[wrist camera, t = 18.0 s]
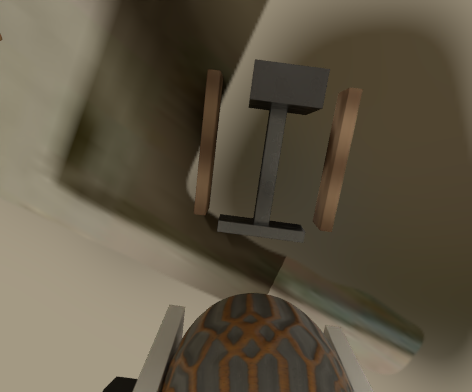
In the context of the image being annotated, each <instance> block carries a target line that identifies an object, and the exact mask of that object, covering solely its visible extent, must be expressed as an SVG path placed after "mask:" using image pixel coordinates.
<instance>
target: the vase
mask: <svg viewBox="0 0 472 392" xmlns="http://www.w3.org/2000/svg"><path fill="white" fill-rule="evenodd" d="M161 392H353V391H352V388H351V385H350V383H349V380H348V377H347V375H346V373H345V370H344V368H343V366H342V364H341V362H340V360H339V358H338V356H337V354H336V352H335V351H334V349H333V347H332V345H331V344H330V342H329V340H328V339H327V338H326V336H325V335H324V334H323V333H322V331H321V330H320V329H319V327H318V326H317V325H316V324H315V323H314V322H313V321H312V320H311V319H310V318H309V317H308V316H307V315H306V314H305V313H303V312H302V311H301V310H300V309H298V308H297V307H295V306H294V305H292V304H291V303H289V302H287V301H285V300H283V299H281V298H278V297H275V296H271V295H266V294H258V293H247V294H240V295H235V296H231V297H228V298H226V299H223V300H221V301H219V302H217V303H216V304H214V305H212V306H211V307H210V308H208V309H207V310H206V311H205V312H204V313H203V314H201V315H200V316H199V317H198V318H197V319H196V320H195V322H194V323H193V324H192V325H191V327H190V328H189V329H188V330H187V332H186V333H185V335H184V337H183V338H182V340H181V341H180V343H179V345H178V347H177V348H176V351H175V353H174V355H173V358H172V360H171V362H170V365H169V368H168V371H167V374H166V376H165V380H164V383H163V387H162V390H161Z"/></svg>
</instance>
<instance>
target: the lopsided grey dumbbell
mask: <svg viewBox="0 0 472 392" xmlns="http://www.w3.org/2000/svg"><path fill="white" fill-rule="evenodd" d="M329 71H330V69H324V68H316V67H309V66H300V65H294V64H293V65H292V64H286V63H278V62H271V61H263V60H255V64H254V72H253V79H252V87H251V94H250V101H249V108H256V109H264V110H270V111H269V118H268V124H267V131H266V139H265V145H264V151H263V158H262V165H261V172H260V178H259V185H258V191H257V198H256V205H255V212H254V218H245V217H238V216H230V215H222V214H220V217H219V220H218V228H217V231H218V232H226V233H234V234H241V235H249V236H257V237H264V238H272V239H279V240H287V241H294V242H302V243H303V241H304V235H305V231H304V229H303V228H302V226H301V225H298V224H290V223H283V222H276V221H269V219H270V214H271V207H272V201H273V195H274V189H275V183H276V177H277V171H278V164H279V158H280V152H281V145H282V139H283V134H284V127H285V121H286V115H287V113H295V114H302V115H307V114H309V113H312V112H315V111H317V110H319V109H322V108H323V103H324V98H325V92H326V87H327V82H328V76H329Z"/></svg>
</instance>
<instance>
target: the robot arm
mask: <svg viewBox="0 0 472 392" xmlns="http://www.w3.org/2000/svg"><path fill="white" fill-rule="evenodd" d="M184 312H185V307H182V306H174V305H169V307H168V310H167V312H166V314H165V317H164V319H163V321H162V324H161V326H160V328H159V331H158V333H157V336H156V338H155V340H154V343H153V345H152V347H151V350H150V352H149V354H148V357H147V359H146V361H145V364H144V366H143V369H142V371H141V373H140V376H139V378H138V379H132V378H124V377H116V378H115V379H114V380H113V381H112V382H111V383H110V384H109V385H108V386H107V387H106V388H105V389H104V390H103V392H161V390H162V387H163V383H164V380H165V376H166V374H167V371H168V368H169V365H170V362H171V360H172V358H173V355H174V353H175V351H176V348H177V347H178V345H179V343H180V341H181V340H182V332H183V322H184ZM323 334H324V335H325V336H326V338H327V339H328V340H329V342H330V344H331V345H332V347H333V349H334V351H335V352H336V354H337V356H338V358H339V360H340V362H341V364H342V366H343V368H344V370H345V373H346V375H347V377H348V380H349V383H350V385H351V388H352V391H353V392H373V389H372V388H371V385H370V383H369V381H368V380H367V378H366V376H365V374H364V372H363V370H362V368H361V366H360V364H359V362H358V360H357V358H356V356H355V354H354V352H353V350H352V348H351V346H350V344H349V342H348V340H347V338H346V336H345V334H344V332H343V330H342V329H341V327H335V326H328V325H325V329H324V333H323Z"/></svg>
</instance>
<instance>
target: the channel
mask: <svg viewBox="0 0 472 392" xmlns="http://www.w3.org/2000/svg"><path fill="white" fill-rule="evenodd" d="M222 85H223V76H222V73H221V71H219V70H211V69H208V73H207V83H206V93H205V104H204V114H203V124H202V135H201V145H200V155H199V166H198V176H197V186H196V197H195V207H194V214H199V215H206V213H207V211H208V209H209V204H210V195H211V185H212V176H213V167H214V158H215V149H216V140H217V131H218V122H219V113H220V104H221V95H222ZM362 91H363V89H357V88H348V89H346V90H344V91H342V92H340V93H339V94H338V98H337V103H336V108H335V113H334V118H333V123H332V128H331V133H330V138H329V143H328V148H327V153H326V158H325V163H324V168H323V173H322V178H321V183H320V188H319V193H318V198H317V203H316V208H315V213H314V218H313V222H314V224H315V225H316V226H317V227H318V228H319V230H321V231H328V232H332V227H333V223H334V219H335V214H336V210H337V205H338V200H339V196H340V191H341V187H342V182H343V178H344V173H345V168H346V164H347V159H348V155H349V150H350V146H351V141H352V136H353V131H354V127H355V123H356V118H357V114H358V109H359V104H360V100H361V95H362Z"/></svg>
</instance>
